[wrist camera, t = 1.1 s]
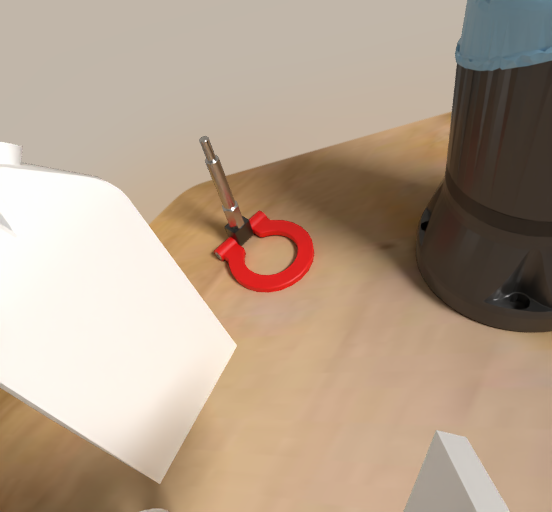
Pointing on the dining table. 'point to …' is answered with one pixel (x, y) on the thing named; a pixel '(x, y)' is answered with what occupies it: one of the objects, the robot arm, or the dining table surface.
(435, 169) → the dining table surface
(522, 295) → the robot arm
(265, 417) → the dining table surface
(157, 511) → the mug
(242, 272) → the tow hook
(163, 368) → the milk
